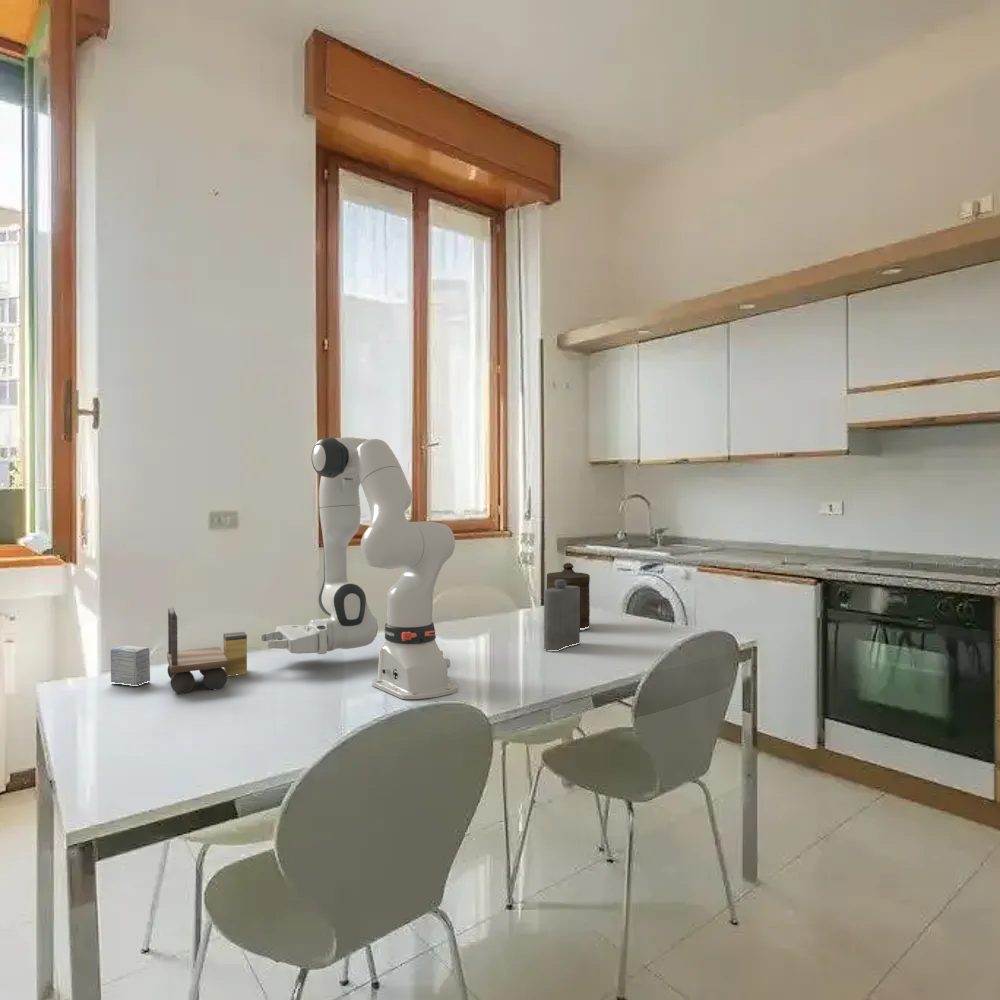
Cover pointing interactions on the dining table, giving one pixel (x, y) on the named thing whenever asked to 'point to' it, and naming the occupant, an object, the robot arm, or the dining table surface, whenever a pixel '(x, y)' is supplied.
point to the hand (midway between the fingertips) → (264, 641)
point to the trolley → (193, 662)
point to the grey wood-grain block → (130, 665)
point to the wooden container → (574, 580)
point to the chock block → (235, 652)
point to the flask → (561, 616)
